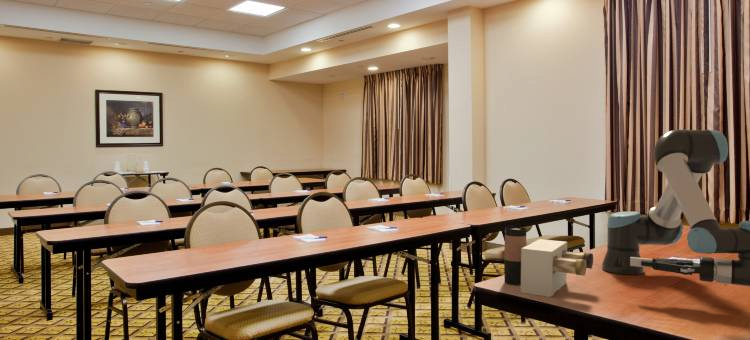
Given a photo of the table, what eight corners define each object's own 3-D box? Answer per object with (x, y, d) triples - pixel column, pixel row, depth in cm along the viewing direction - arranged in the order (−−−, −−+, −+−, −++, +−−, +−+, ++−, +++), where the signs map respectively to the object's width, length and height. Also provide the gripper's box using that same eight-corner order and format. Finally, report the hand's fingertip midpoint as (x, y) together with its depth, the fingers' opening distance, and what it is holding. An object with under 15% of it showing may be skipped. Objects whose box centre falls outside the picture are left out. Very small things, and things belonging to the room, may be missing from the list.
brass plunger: (586, 273, 176) (586, 258, 176) (582, 277, 171) (583, 261, 171) (544, 268, 183) (545, 253, 183) (540, 271, 179) (541, 256, 178)
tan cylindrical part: (593, 267, 186) (593, 252, 186) (590, 270, 182) (590, 254, 181) (553, 262, 193) (554, 248, 193) (550, 265, 189) (550, 250, 189)
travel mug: (510, 286, 188) (511, 230, 187) (499, 280, 195) (500, 226, 194) (529, 284, 190) (530, 229, 189) (518, 279, 197) (519, 226, 196)
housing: (566, 282, 193) (567, 241, 193) (550, 297, 175) (551, 251, 174) (538, 278, 199) (539, 239, 198) (520, 292, 180) (521, 248, 179)
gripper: (714, 286, 159) (627, 276, 172) (714, 277, 170) (632, 268, 183) (714, 261, 159) (628, 253, 171) (714, 254, 170) (633, 247, 182)
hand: (630, 261), depth 177 cm, fingers closed
